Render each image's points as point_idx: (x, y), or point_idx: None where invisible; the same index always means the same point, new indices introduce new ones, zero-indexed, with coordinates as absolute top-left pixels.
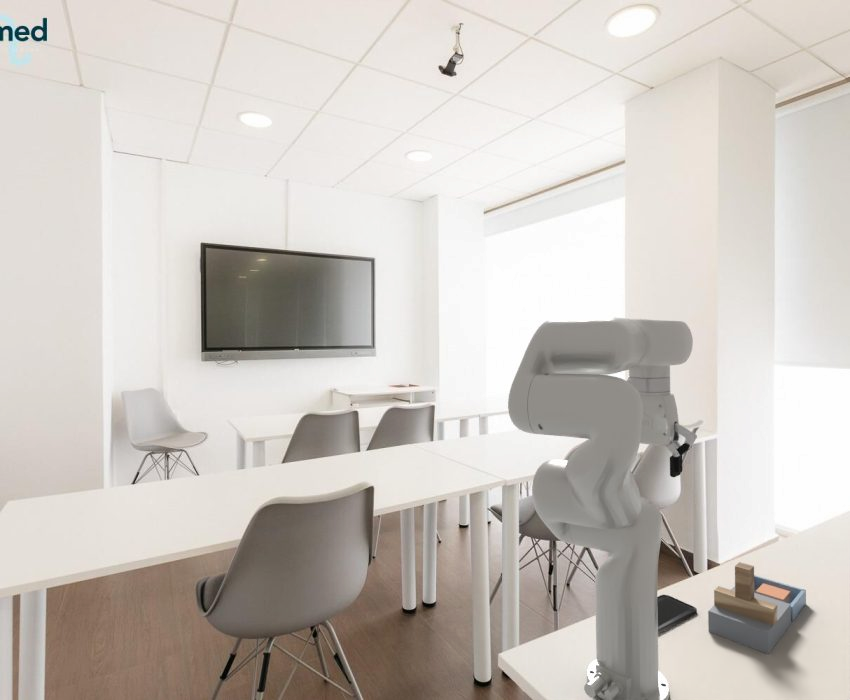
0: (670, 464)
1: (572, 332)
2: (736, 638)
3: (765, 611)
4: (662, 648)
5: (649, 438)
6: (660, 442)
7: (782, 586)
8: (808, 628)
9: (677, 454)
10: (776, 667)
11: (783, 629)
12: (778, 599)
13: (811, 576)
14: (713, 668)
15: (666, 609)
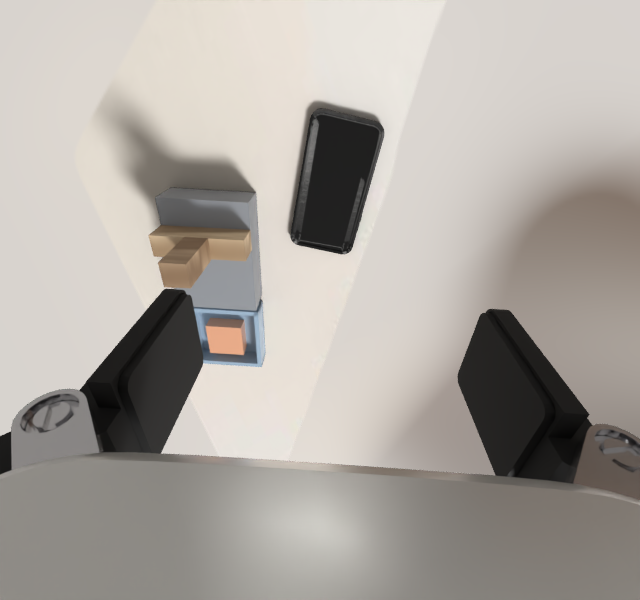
0: (151, 339)
1: None
2: (212, 191)
3: (163, 232)
4: (286, 72)
5: (226, 552)
6: (63, 492)
7: (222, 359)
8: None
9: (40, 409)
10: (147, 157)
11: None
12: (212, 325)
13: (227, 414)
14: (200, 75)
15: (328, 207)
